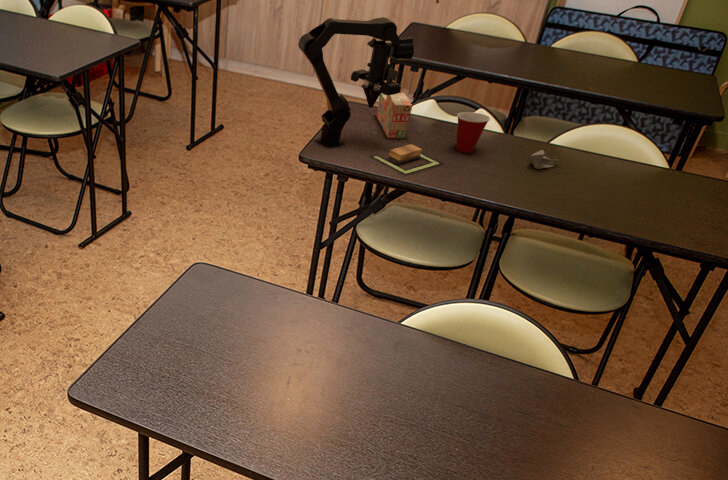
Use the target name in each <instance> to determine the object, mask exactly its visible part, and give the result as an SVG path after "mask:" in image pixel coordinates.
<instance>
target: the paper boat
mask: <svg viewBox="0 0 728 480" xmlns="http://www.w3.org/2000/svg"><path fill="white" fill-rule="evenodd" d="M529 158H530V161H531V163H532V165H533V167H534V168H535V169H537V170H539V169H545V168H551V167H555V164H554V163H553V160H552V159H551V158H550V157H549V156H548V155H547V153H546V151H545V150H544V149H541V150H538V151H536V152H534V153H533V154H532V153H531V155H530V156H529ZM555 161H559V159H557V158H555Z"/></svg>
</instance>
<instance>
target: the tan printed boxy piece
mask: <svg viewBox="0 0 728 480" xmlns="http://www.w3.org/2000/svg"><path fill="white" fill-rule="evenodd" d="M412 109H413V104H412V102H411V100H410V98H409V97H408V96H407V95H406V93H405V92H400V93H398V94H393V95H385V94H382V93H381V94H380V96H379V97H378V103H377V110H376V114H375V116H376V119H377V120H378V122H379V124H380V126H381V128H382V129H383V132H384V133H385V135H386V138H388V139H405V138H406V134H407V130H408V126H409V121H410V118H411V113H412Z"/></svg>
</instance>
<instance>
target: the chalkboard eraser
mask: <svg viewBox="0 0 728 480" xmlns="http://www.w3.org/2000/svg"><path fill="white" fill-rule="evenodd" d="M422 150H423V149H422V148H420V147H418V146H416V145H414V144H412V143H409V144H407V145H402V146H399V147H396V148H392V149H389V153H388V161H389V162H391V163H392V164H394V165H401V164H405V163H408V162H411V161H414V160H418V159H420V158H421V157H420V155H421V154H422V152H423V151H422Z"/></svg>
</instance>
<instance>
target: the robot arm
mask: <svg viewBox="0 0 728 480" xmlns="http://www.w3.org/2000/svg"><path fill="white" fill-rule="evenodd" d="M397 31H398V25H397V24H396V22H394V21H392V20H391V19H390V18H388V17H385V16H383V17H382V16H381V17H375V18H372V19H369V20H356V19H341V18H340V19H339V18H332V17H331V18H330V17H329V18H326V19H325V20H324V21H323V22H322V23H320V24H319V25H317V26H315V27H314V28H312V29H311V30H310V31H308V32H307V33H305V34H303V35H301V37H300V38H299V40H298V42H297V45H298V48H299V50H300V51H301V53H302V54H303V56H304V57H305V58H306V60H307V61H308V62H309V63H310V65H311V68H312V69H313V72H314V74H315V76H316V79H317V80H318V83H319V86H320V87H321V89H322V92H323V94H324V96H325V98H326V107H327V110H326V111H325V112H324V113H322V115H321V121H322V123H324V124H322V127H321V134H320V138H317V140H316V141H317V143H320V144H321V145H324V146H326V147H328V148H331V147H335V146H338V145H339V146H340V145H342V144H343V141H341V138H342V137H341V135H342V131H343V129H344V127H345V125H346V123H347V122H348V121H349V120H350V118H351V116H352V115H351V111H352V108H351V107H350V105H349V101H348V99H347V98H346V97H345V96H344V95H343V94H339V93H338V91H337V89H336V86H335V83H334V81H333V80H332V77H331V75H330V72H329V70H328V68H327V65H326V63H325V61H324V52H323V48H324V47H326V46H327V44H329V42H330V40H331V39H332V38H333V37H334V36H335V35H349V36H367V37H371V40H369V41H367V43H366V45H367V46H369V47H370V49H372V52H371V56H370V62H367V64H366V67H369V68H368V70H366V69H364V68H362V69H357V70H353V72H352V73H351V74H350V81H353V82H355V83H357V82H358V81H359V80H362V81H363V83H362V84H361V88H362V90H363V92H364V95H365V99H366V102H367V106H368V108H369V109H372V108H373V107H374V106H375V105H376V102H377V100H379V97H380V94H381V93H382V94H385V95H393V94H398V93H401V91H402V85H401V84H400V83H399V82H397V78H398V76H399V74H400V71H398V70H396V69H393V68H391V63H389V60H390V58H391V60H393V61H410V60H412V58H413V57H414V54H415V46H414V37H413V38H412V37H411V36H408V37H399V35H398V33H397ZM390 80H391V81H390Z"/></svg>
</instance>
